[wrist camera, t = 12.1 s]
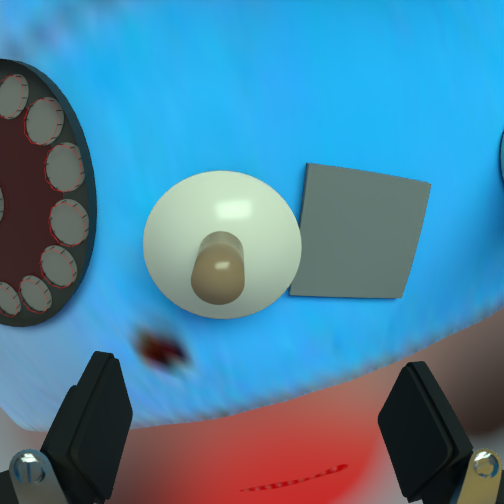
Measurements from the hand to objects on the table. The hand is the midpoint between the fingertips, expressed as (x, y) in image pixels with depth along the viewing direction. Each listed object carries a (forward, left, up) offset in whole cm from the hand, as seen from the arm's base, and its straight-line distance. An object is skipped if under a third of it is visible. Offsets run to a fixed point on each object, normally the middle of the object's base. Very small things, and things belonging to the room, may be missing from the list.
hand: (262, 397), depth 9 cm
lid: (+2, +2, -18) cm, 18 cm away
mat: (-12, +2, -24) cm, 27 cm away
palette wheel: (+33, 0, -24) cm, 41 cm away
